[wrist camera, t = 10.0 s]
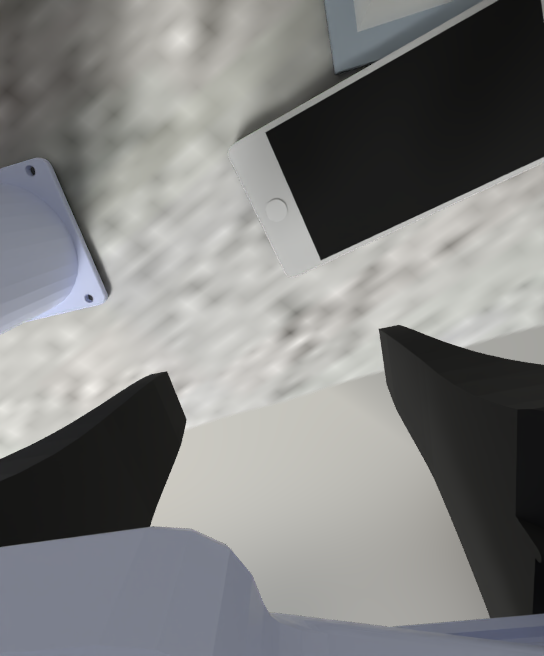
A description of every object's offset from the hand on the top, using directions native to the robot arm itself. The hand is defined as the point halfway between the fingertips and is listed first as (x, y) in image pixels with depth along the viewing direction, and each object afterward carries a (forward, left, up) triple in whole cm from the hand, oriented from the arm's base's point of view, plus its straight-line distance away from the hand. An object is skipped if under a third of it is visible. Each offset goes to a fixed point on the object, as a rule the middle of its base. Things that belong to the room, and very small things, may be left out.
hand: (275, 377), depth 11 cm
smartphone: (+7, +6, -9) cm, 13 cm away
